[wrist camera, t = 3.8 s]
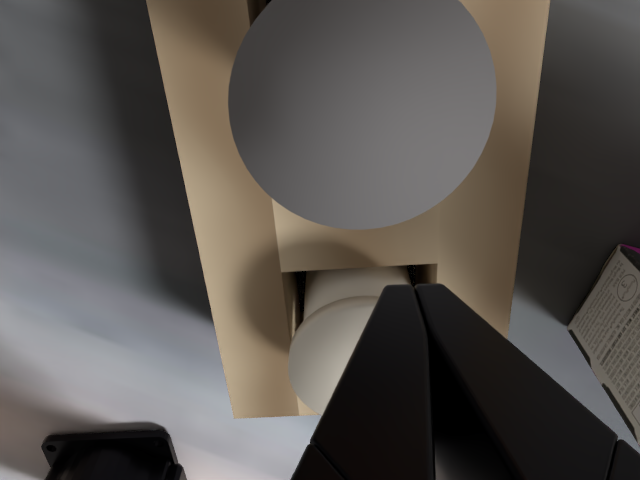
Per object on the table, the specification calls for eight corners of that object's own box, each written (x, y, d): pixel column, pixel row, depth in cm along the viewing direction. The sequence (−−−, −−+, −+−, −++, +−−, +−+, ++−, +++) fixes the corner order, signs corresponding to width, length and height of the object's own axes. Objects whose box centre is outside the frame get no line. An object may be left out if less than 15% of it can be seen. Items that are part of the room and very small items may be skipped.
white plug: (302, 317, 23) (295, 427, 18) (291, 217, 21) (280, 312, 16) (414, 311, 23) (440, 421, 18) (415, 210, 21) (446, 303, 16)
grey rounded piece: (272, 139, 16) (247, 236, 11) (250, -41, 14) (207, -25, 9) (433, 128, 16) (485, 222, 11) (438, -56, 14) (509, -49, 8)
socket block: (248, 341, 25) (234, 418, 21) (87, -581, 12) (-31, -837, 8) (470, 329, 24) (498, 406, 20) (550, -639, 11) (668, -936, 8)
